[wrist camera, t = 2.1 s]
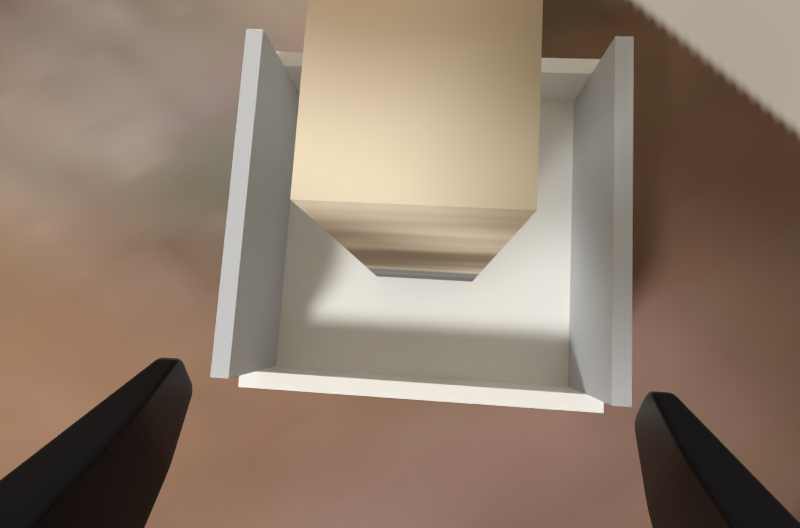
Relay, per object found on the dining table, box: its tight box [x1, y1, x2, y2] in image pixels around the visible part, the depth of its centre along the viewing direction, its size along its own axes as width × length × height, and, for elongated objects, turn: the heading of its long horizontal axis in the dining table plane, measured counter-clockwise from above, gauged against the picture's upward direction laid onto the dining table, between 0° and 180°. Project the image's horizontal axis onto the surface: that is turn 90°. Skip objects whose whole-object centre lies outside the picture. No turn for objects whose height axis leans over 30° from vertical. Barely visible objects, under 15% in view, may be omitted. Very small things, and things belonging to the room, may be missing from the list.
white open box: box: [210, 29, 634, 413], centre depth 19 cm, size 13×13×6 cm
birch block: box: [290, 0, 543, 282], centre depth 15 cm, size 4×4×13 cm
